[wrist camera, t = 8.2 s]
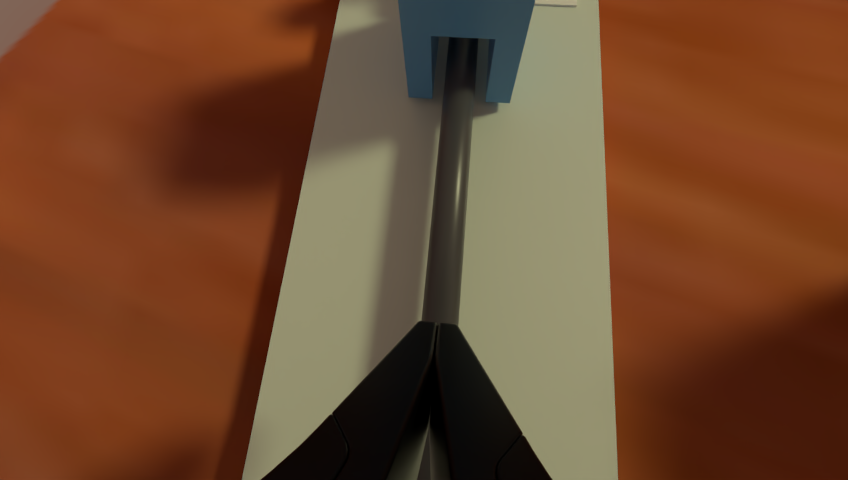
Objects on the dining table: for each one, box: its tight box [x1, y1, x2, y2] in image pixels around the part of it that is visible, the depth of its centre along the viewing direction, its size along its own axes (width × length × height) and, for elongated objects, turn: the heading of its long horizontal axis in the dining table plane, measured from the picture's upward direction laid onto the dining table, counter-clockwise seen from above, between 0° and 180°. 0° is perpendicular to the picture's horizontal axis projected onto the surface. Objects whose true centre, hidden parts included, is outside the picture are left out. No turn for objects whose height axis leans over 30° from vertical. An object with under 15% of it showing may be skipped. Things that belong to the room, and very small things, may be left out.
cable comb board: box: [242, 0, 618, 480], centre depth 15 cm, size 30×12×6 cm, turn 175°
